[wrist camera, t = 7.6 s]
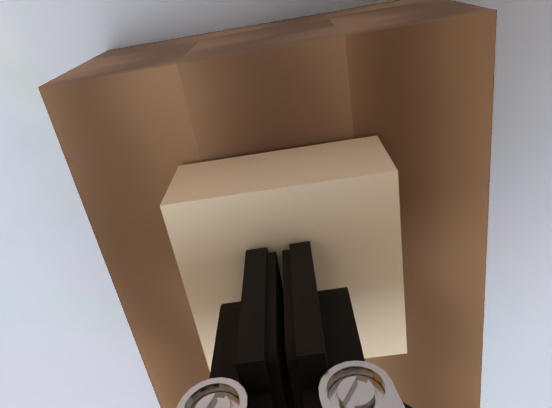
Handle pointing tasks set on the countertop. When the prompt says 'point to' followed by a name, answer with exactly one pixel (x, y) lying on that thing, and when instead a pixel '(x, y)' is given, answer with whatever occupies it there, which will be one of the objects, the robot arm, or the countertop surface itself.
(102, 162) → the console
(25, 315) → the countertop surface
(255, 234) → the cream block
